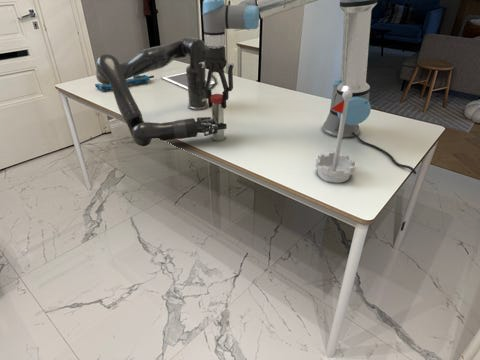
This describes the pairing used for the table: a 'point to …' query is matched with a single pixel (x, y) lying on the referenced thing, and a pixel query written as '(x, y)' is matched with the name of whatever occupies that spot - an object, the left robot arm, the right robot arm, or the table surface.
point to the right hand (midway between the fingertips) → (217, 106)
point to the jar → (218, 119)
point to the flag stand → (337, 151)
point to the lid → (216, 98)
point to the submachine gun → (135, 80)
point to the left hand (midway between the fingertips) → (224, 123)
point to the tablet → (180, 80)
